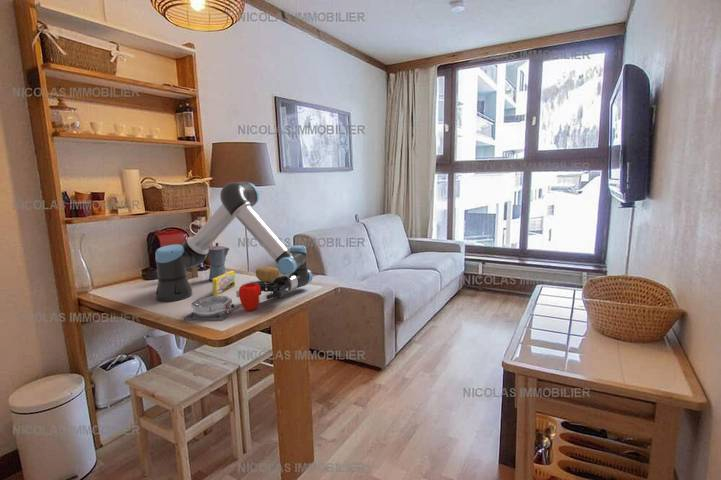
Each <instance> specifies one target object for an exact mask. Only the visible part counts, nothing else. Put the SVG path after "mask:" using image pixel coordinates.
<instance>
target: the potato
mask: <svg viewBox="0 0 721 480" xmlns="http://www.w3.org/2000/svg"><path fill="white" fill-rule="evenodd" d="M255 275H256V276H255V277H256V278H257V279H258V280H259V281H260V282H262V283H264V282H268V283H271V282H274V280H275V279H276V278H278V277H281V273H280V272H279V270H278V267H273V266H261V267H258V268H256V269H255Z"/></svg>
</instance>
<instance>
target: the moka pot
mask: <svg viewBox="0 0 721 480" xmlns="http://www.w3.org/2000/svg"><path fill="white" fill-rule="evenodd" d="M208 249H209V252H208V253H207V255H208V259H209V262H207V261H206V259H205V260H204V261H203V264H205V265H209V264H210V268H209V277H208V279H209V281H211V282H212V279H213V278H216V277H218V276H221V275H223V274H225V273H227V272H226V265H225V262H226V257H227V255H228V252H229V250H230V247H227V246H222V245H221V246H220V245H219V243H218V242H216V243H215V245H214V246H209V248H208Z"/></svg>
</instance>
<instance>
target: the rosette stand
mask: <svg viewBox="0 0 721 480" xmlns="http://www.w3.org/2000/svg"><path fill="white" fill-rule="evenodd" d="M190 304H191V305H190V306H191V309H192V312H191V313H188V315H187V316H184V318H183V319H184V321H215V320H216V321H217V322H218V321H221V322H222V321H224V320H225V319H226V318H227V317H229V316H230V315H231V314H232V313H234V312H235V311H236V310H237V309H238V308H240V307H239V304H235V303H233V299H232V298H231V297H229V296H228V295H218V296H213V295H212V296H207V297H202V298H198V299H196V300H194V301H193V302H192V303H190Z"/></svg>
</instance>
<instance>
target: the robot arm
mask: <svg viewBox="0 0 721 480" xmlns="http://www.w3.org/2000/svg"><path fill="white" fill-rule="evenodd" d="M219 196H220V201H221V205H220V206H219V207H218V208H217V209H216V211H214V213H213V214H212V215H211V216H210V217H209V219H207V220H206V222H205V223H204V224H203V225H202V226H201V228H200V229H199V230H198V231H197V232H196V233H195V234H194V235H193V236H189V237H187V238H186V239H185V240H184V242H183V243H182V244H178V243H177V244H169V245H164V246H161V247H158V248H157V249H156V250H155V254H154V255H155V258H154V259H155V265H156V273H157V281H158V282H157V287H156V291H155V300H156V301H157V302H162V303H163V302H175V301H180V300H184V299H187V298H189V297H191V296H192V295H193V290H192V289H193V288H192V287H191V285H190V283H189V281H188V279H187V278H186V272H187V271H188V269H189V268H192V267H195V266H197V267H198V266H199V265H201V264H203V263H204V260H205V261H206V259H207V256H208V252H209V249H208V248H209V247H211V245H213V243H214V242H215V241H216V240H217V239H218V238H219V237H220V235H221V234H222V233H223V232H224V231H225V230H226V229H227V228H228V226H230V224H231V223H232V222H233V221H234V220H236V219H237V220H238V221H239V222H240V224H242V225H243V226H244V228H245V229H246V230H247V231H248V232H249V233H250V234H251V236H253V238H254V239H255V240H256V241H257V242H258V243H259V245H261V247H262V248H263V249H264V250H265V251H266V253H268V255H269V256H270V257H271V258H272V259H273V261H275V262H276V265H277V267H276V268H278V270H279V272H280V274H282V275H280V276H279V277H278V278H276V279H275V280H274V282H269V283H268V282H260V283H258V284H259V286H260V287H261V292H264V293H261V295H260V296H259V304H260V303H264V302H266V301H269V300H271V299H281V298H282V297H283V296H284V295H285V294H287V293H288V292H292V291H293V290H296V289H298V288H302V287H305V286H307V285H308V284H311V282H312V281H313V276H314V275H313V274H312V271H311V270H310V269H308V259H307V258H308V256H307V255H308V253H307V247H306V246H305V245H297V244H296V245H292V246H290V248H288V247H286V245H285V244H284V243H283V241H282V240H281V239H280V238H279V237H278V236H277V235H276V234H275V232H273V231H272V230H271V228H270V227H269V226H268V225H267V224H266V222H265V221H264V220H263V219H262V218H261V217H260V216H259V214H258V213H257V212H256V211H255V210H254V209H253V207H254V206H255V205H256V204H257V203H258V201H259V199H260V193H259V189H258V188H257V186H256V185H255V184H253V183H252V182H249V181H238V182H237V181H235V182H234V181H233V182H232V181H231V182H228V183H226V184H224V186H223V187H222V188H221V190H220V195H219ZM235 296H236V298H240V297H239V289H237V290H235Z"/></svg>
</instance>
